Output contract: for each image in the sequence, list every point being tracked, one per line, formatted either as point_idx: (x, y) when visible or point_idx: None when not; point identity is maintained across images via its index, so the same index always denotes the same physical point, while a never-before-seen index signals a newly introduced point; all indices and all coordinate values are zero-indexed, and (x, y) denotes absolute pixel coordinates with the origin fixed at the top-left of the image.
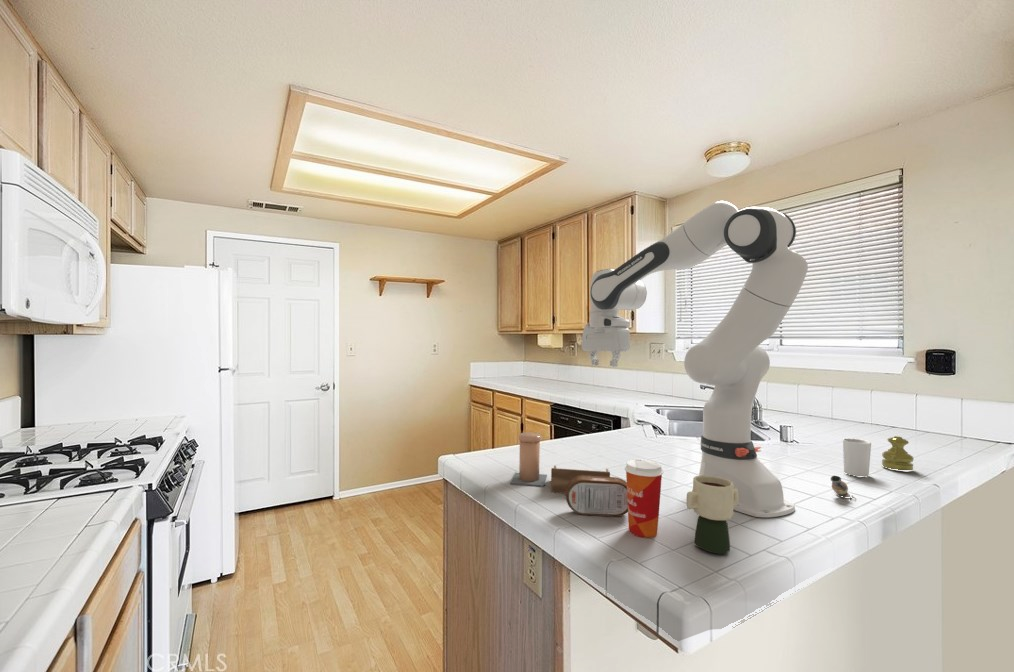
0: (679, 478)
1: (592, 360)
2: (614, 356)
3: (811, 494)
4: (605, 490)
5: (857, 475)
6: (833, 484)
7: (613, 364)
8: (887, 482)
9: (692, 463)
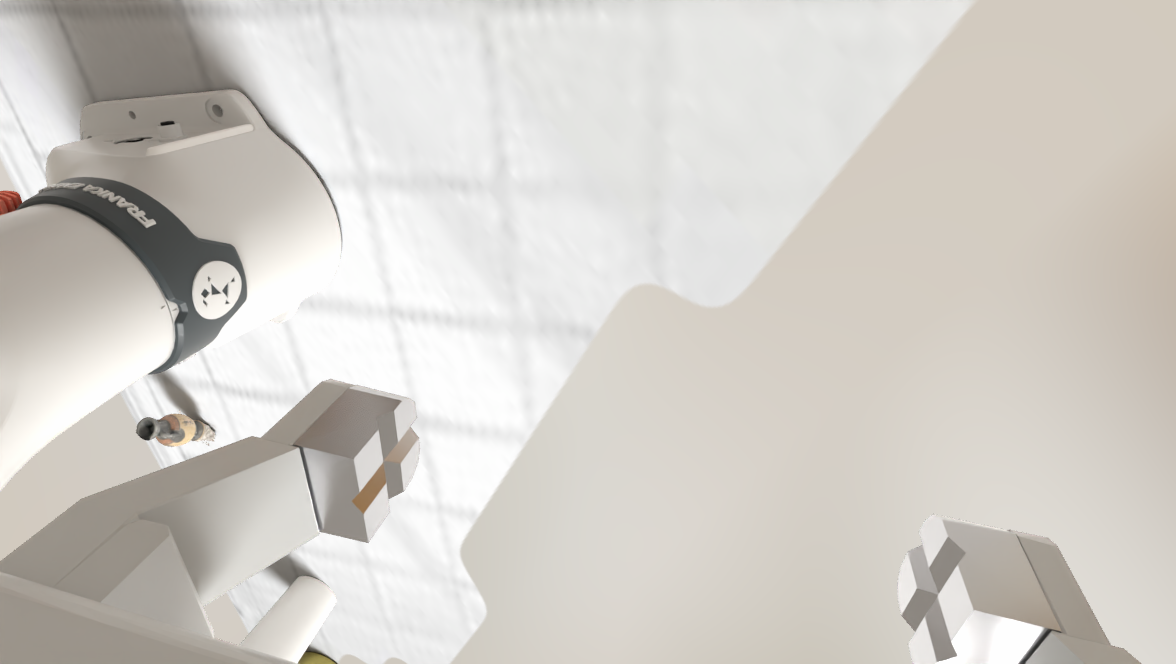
0: (420, 226)
1: (1049, 612)
2: (118, 486)
3: (224, 393)
4: None
5: (298, 579)
6: (171, 424)
7: (309, 403)
8: (262, 575)
9: (533, 414)
